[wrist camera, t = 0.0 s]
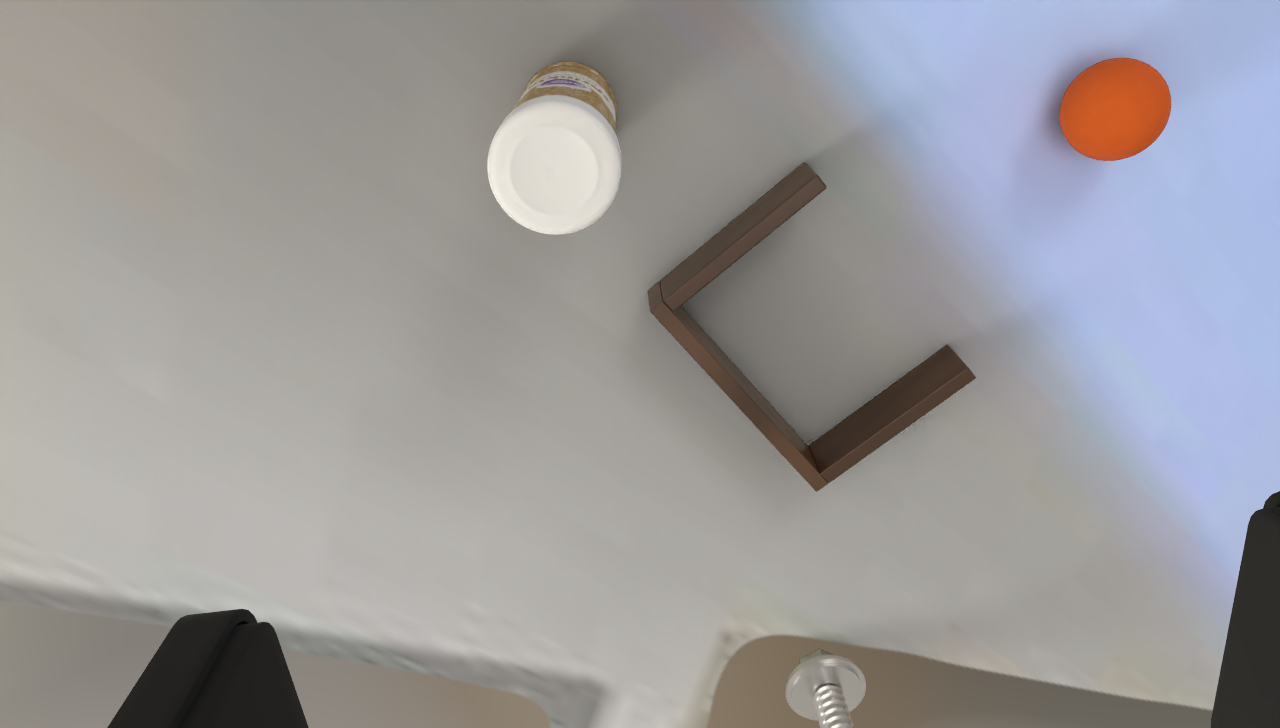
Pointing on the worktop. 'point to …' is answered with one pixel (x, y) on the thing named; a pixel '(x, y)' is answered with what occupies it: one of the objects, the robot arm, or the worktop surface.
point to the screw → (825, 689)
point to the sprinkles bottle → (558, 151)
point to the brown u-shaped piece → (812, 462)
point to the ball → (1115, 109)
